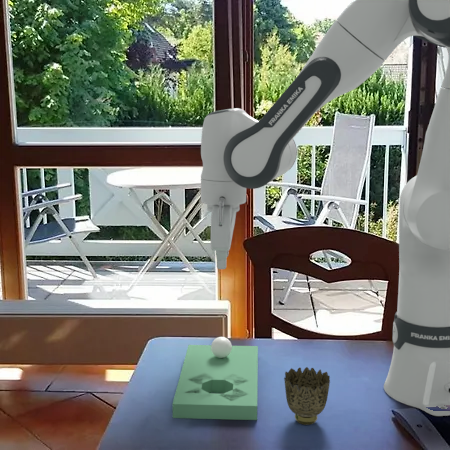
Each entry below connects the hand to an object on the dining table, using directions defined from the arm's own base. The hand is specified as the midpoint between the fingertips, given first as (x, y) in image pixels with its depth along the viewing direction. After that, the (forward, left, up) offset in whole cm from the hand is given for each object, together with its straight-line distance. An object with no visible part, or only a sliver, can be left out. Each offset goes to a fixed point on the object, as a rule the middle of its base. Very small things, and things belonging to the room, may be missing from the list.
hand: (222, 262), depth 135 cm
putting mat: (0, +14, -20) cm, 24 cm away
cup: (-15, +27, -20) cm, 37 cm away
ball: (0, +7, -15) cm, 17 cm away
